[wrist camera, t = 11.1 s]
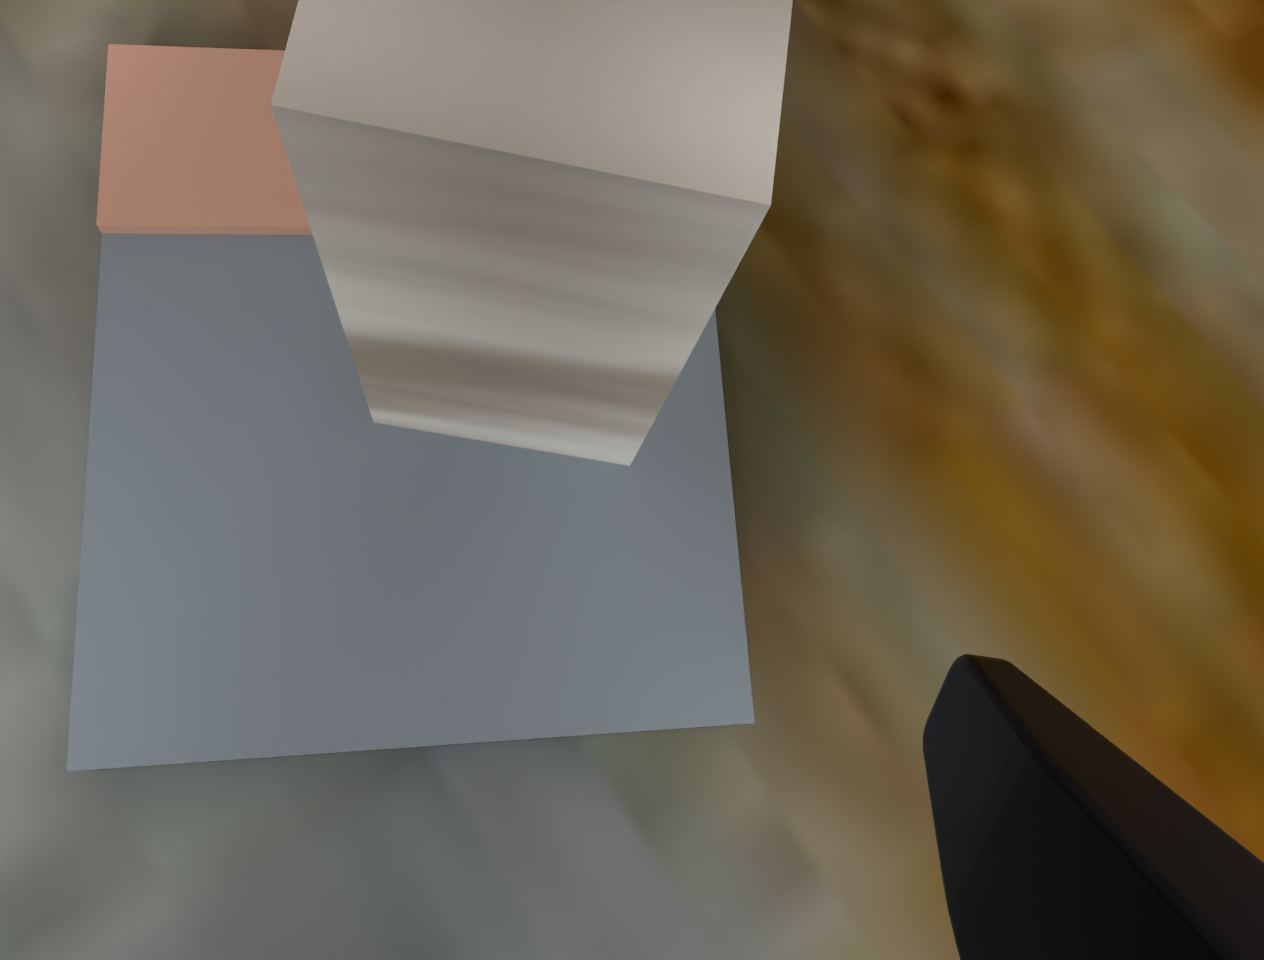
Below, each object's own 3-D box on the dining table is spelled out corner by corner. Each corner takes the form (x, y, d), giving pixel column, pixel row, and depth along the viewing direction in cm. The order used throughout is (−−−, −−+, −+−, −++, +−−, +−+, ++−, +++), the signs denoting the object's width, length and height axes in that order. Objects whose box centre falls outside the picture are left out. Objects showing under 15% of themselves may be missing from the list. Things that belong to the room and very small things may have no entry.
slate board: (741, 724, 20) (758, 723, 19) (88, 770, 18) (59, 771, 17) (684, 101, 23) (695, 65, 22) (130, 84, 21) (107, 43, 20)
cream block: (629, 465, 20) (771, 205, 10) (373, 422, 19) (270, 104, 10) (661, 239, 21) (811, -177, 12) (422, 193, 21) (374, -284, 11)
